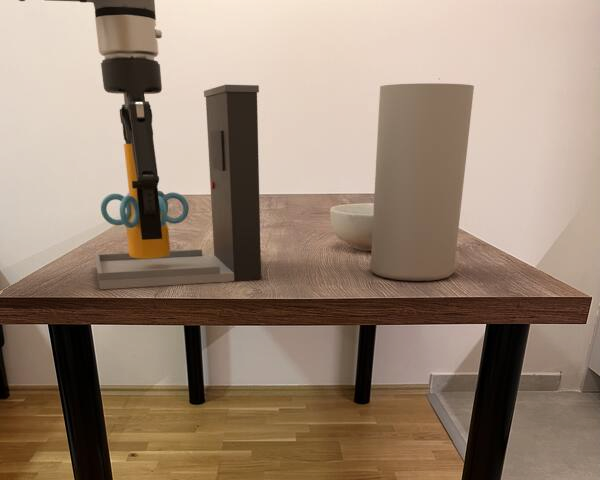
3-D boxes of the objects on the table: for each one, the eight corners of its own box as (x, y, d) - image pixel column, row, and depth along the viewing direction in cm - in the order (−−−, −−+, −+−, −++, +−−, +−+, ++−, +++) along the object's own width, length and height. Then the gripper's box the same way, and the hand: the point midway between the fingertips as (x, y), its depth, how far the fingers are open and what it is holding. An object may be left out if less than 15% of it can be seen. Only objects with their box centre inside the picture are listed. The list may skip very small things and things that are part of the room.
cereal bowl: (311, 246, 119) (311, 206, 116) (376, 238, 128) (378, 201, 125) (372, 259, 107) (374, 215, 104) (439, 250, 116) (443, 209, 113)
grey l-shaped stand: (100, 289, 86) (72, 80, 75) (96, 268, 99) (72, 88, 89) (262, 279, 92) (258, 85, 82) (239, 260, 106) (232, 91, 95)
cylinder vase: (356, 268, 100) (364, 87, 89) (425, 263, 104) (441, 90, 93) (395, 284, 89) (409, 82, 79) (470, 278, 94) (493, 85, 83)
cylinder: (160, 265, 87) (149, 144, 80) (95, 260, 90) (79, 144, 83) (201, 250, 97) (193, 143, 91) (141, 247, 100) (130, 142, 94)
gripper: (171, 50, 74) (185, 244, 83) (150, 67, 94) (163, 221, 103) (103, 47, 71) (126, 247, 81) (97, 65, 92) (116, 223, 101)
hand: (147, 232), depth 92 cm, fingers closed on cylinder, 11 cm apart
